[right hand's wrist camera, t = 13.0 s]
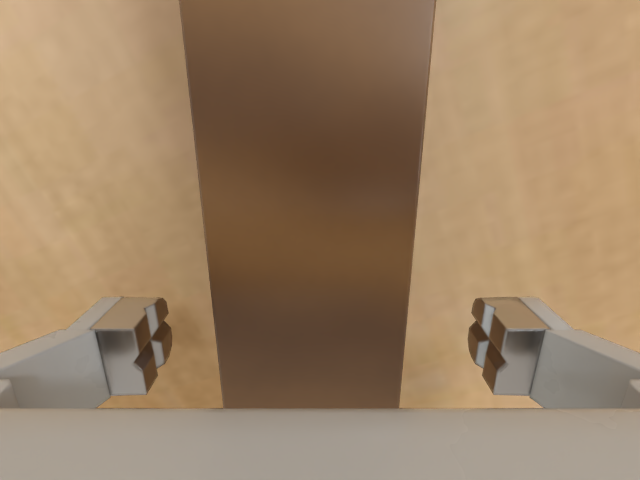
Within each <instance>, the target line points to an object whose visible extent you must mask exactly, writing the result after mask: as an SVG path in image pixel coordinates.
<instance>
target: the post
mask: <svg viewBox="0 0 640 480" xmlns="http://www.w3.org/2000/svg"><path fill="white" fill-rule="evenodd" d="M179 4H180V13H181V22H182V31H183V40H184V50H185V59H186V68H187V77H188V86H189V95H190V105H191V114H192V123H193V132H194V141H195V150H196V160H197V169H198V178H199V187H200V196H201V206H202V215H203V224H204V233H205V242H206V251H207V261H208V270H209V279H210V288H211V297H212V306H213V316H214V325H215V334H216V343H217V352H218V362H219V371H220V380H221V389H222V398H223V407H224V408H399V402H400V391H401V380H402V369H403V358H404V347H405V336H406V325H407V314H408V303H409V292H410V281H411V270H412V259H413V248H414V238H415V227H416V216H417V205H418V194H419V183H420V172H421V161H422V150H423V139H424V128H425V117H426V106H427V95H428V84H429V73H430V62H431V51H432V40H433V29H434V18H435V7H436V0H179Z"/></svg>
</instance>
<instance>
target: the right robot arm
mask: <svg viewBox="0 0 640 480" xmlns="http://www.w3.org/2000/svg"><path fill="white" fill-rule="evenodd" d="M167 315H168V308H167V303H166V301H165V300H164V299H163V298H146V297H103V298H101V299H100V300H99V301H98V302H97V303H95V304H94V305H93V306H92V307H91V308H90V309H89V310H88V311H86V312H85V313H84V314H83V315H82V316H81V317H80V318H78V319H77V320H76V321H75V322H74V323H73V324H72V325H71V326H69V327H68V328H67V329H66V330H57V331H55V332H52V333H50V334H47V335H45V336H42V337H40V338H37V339H35V340H32V341H30V342H27V343H24V344H22V345H19V346H17V347H14V348H12V349H9V350H7V351H4V352H2V353H0V480H640V353H638V352H636V351H633V350H631V349H628V348H626V347H623V346H621V345H618V344H615V343H613V342H610V341H608V340H605V339H603V338H600V337H598V336H595V335H593V334H590V333H588V332H585V331H583V330H574V329H573V328H572V327H571V326H569V325H568V324H567V323H566V322H565V321H564V320H563V319H562V318H560V317H559V316H558V315H557V314H556V313H555V312H554V311H553V310H551V309H550V308H549V307H548V306H547V305H546V304H545V303H544V302H542V301H541V300H540V299H539V298H537V297H496V298H477V299H475V301H474V303H473V307H472V315H473V316H474V318H475V319H476V321H475V322H474V323H473V324H472V325H471V326H470V328H469V333H468V346H469V351H470V354H471V357H472V359H473V361H474V363H475V364H477V365H478V366H480V367H481V368H483V374H482V376H483V378H484V379H485V381H486V383H487V384H488V386H489V388H490V389H491V391H492V393H493V394H494V395H523V396H530V398H531V399H533V400H534V401H535V402H537V403H538V404H539V405H541V406H542V407H543V408H97V407H98V406H99V405H101V404H102V403H103V402H105V401H106V400H108V399H109V398H110V396H117V395H146V394H147V393H148V391H149V389H150V388H151V386H152V384H153V383H154V381H155V379H156V378H157V376H158V374H157V368H159V367H160V366H162V365H163V364H165V363H166V361H167V359H168V357H169V355H170V351H171V347H172V333H171V328H170V326H169V325H168V324H167V323H166V322H165V321H164V319H165V318H166V316H167Z"/></svg>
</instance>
